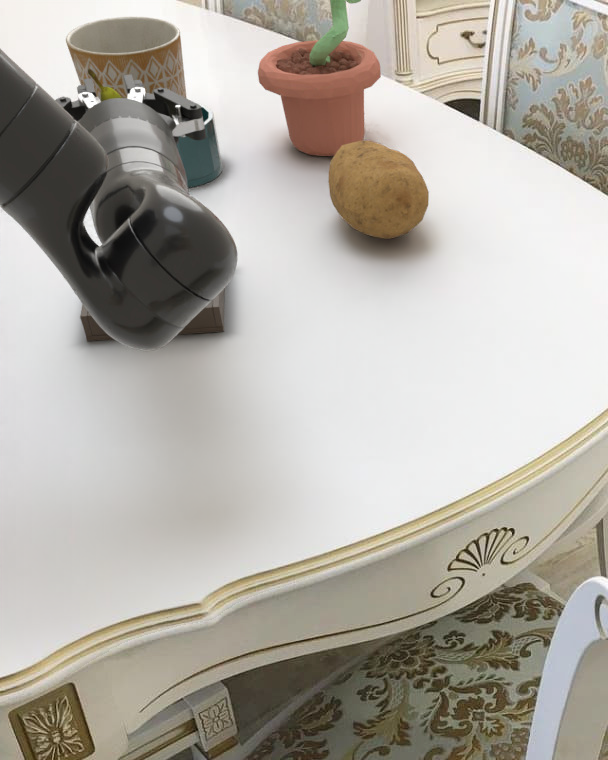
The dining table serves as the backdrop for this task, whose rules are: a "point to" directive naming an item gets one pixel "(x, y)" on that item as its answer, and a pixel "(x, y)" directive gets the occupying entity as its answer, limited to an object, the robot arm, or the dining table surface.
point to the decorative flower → (322, 86)
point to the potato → (377, 189)
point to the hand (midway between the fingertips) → (110, 89)
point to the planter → (129, 53)
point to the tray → (201, 323)
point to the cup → (201, 153)
